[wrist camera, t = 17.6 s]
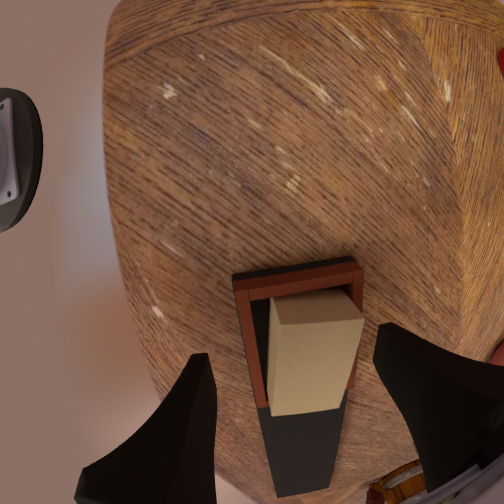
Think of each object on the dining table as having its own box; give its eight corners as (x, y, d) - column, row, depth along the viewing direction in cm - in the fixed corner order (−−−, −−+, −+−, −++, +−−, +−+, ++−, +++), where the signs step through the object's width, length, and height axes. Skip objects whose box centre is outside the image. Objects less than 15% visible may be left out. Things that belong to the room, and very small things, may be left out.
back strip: (276, 493, 32) (278, 505, 29) (231, 274, 19) (231, 291, 16) (327, 483, 32) (330, 494, 30) (351, 254, 19) (366, 268, 16)
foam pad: (264, 379, 21) (271, 416, 17) (270, 290, 18) (280, 324, 14) (324, 373, 21) (339, 408, 17) (341, 288, 18) (365, 318, 15)
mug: (404, 479, 38) (424, 525, 24) (345, 494, 36) (363, 550, 22) (433, 453, 35) (460, 503, 21) (374, 471, 33) (399, 534, 18)
